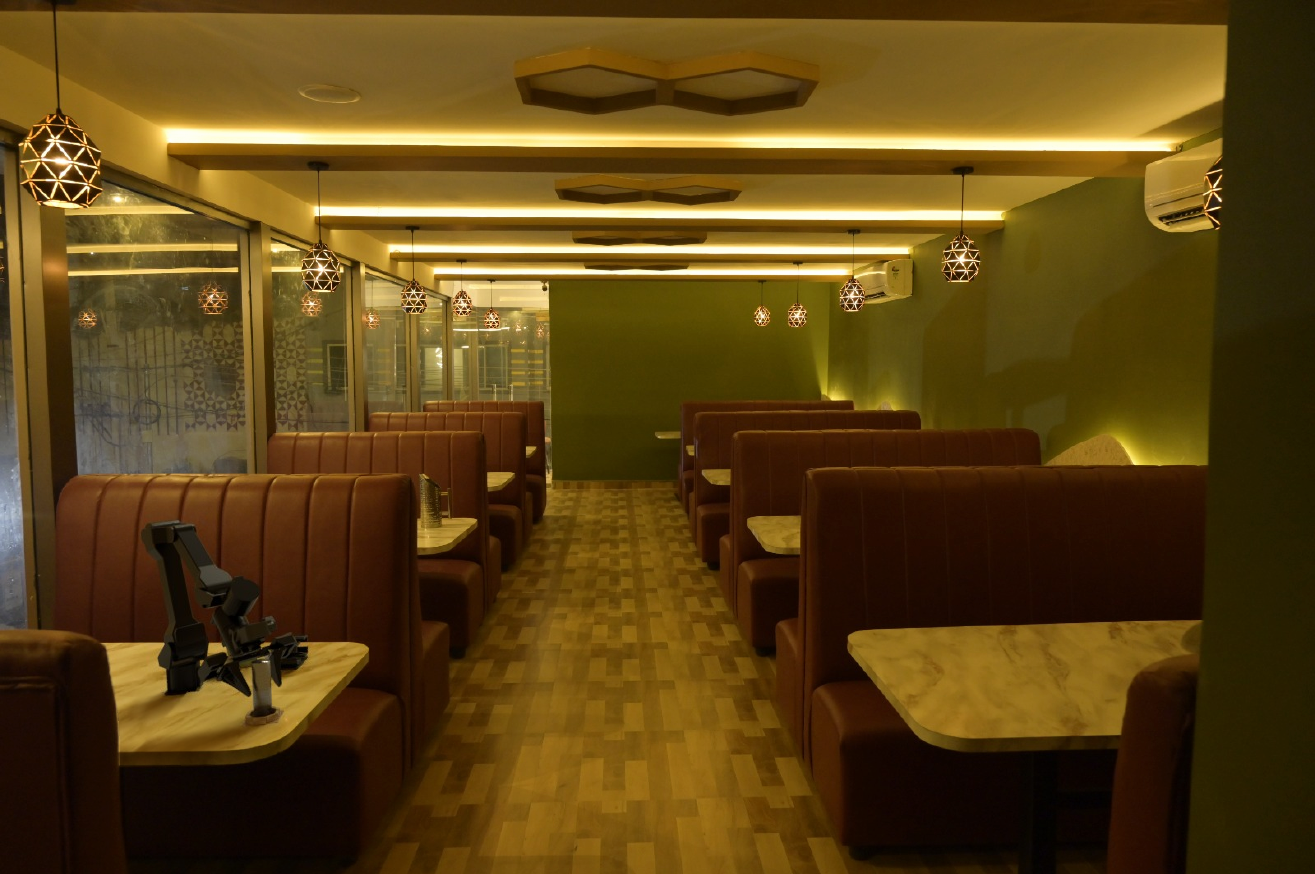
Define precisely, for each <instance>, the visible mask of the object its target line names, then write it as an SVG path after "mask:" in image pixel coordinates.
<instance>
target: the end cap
mask: <svg viewBox="0 0 1315 874" xmlns="http://www.w3.org/2000/svg"><path fill="white" fill-rule="evenodd" d="M286 634H291V635H293V632H292V631H291V632H290V631H289V632H286V633H285V634H284V635H286ZM293 636H294V637H295V639H296V641H297V643H296V645H295V647H294V648H293V650H292V651H291V653H290V654H289V656H287V657H286V658H282V659H281V670H282V671H295V670H296V671H297V670H298V669H299V668H301V667H302V665H304V663H305V662H306V661H307V660H308V659H307V658H309V656H308V653H309V645H305V646H299V645H300V644H301V643H306V642H307V643H308V641H309V636H308V635H307V634H298V635H296V634H295V635H293ZM305 660H306V661H305ZM304 661H305V662H304Z"/></svg>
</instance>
